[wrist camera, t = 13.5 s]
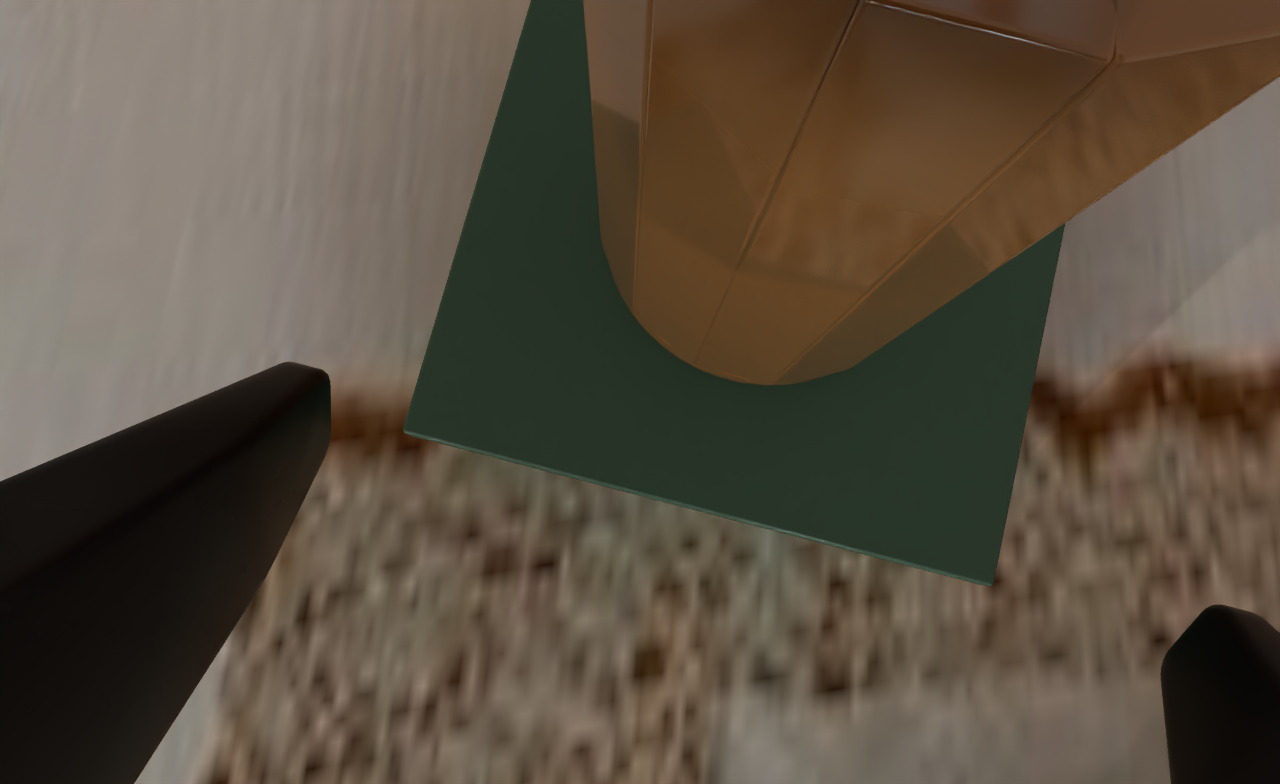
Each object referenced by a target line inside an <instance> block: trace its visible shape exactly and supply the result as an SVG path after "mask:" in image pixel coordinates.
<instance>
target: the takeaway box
mask: <svg viewBox="0 0 1280 784" xmlns="http://www.w3.org/2000/svg"><path fill="white" fill-rule="evenodd" d="M1064 227H1065V223H1064V224H1062V225H1061V226H1060V227H1058V228H1057V229H1055V230H1054V231H1052V232H1051V233H1049V234H1048V235H1046V236H1045V237H1043V238H1042V239H1040V240H1039V241H1037V242H1036V243H1034V244H1033V245H1032V246H1030V247H1029V248H1027V249H1026V250H1024V251H1023V252H1021V253H1020V254H1018V255H1017V256H1015V257H1014V258H1012V259H1011V260H1009V261H1008V262H1007V263H1005V264H1004V265H1002V266H1001V267H999V268H998V269H996V270H995V271H993V272H992V273H990V274H989V275H987V276H986V277H984V278H983V279H981V280H980V281H979V282H977V283H976V284H974V285H973V286H971V287H970V288H968V289H967V290H965V291H964V292H962V293H961V294H959V295H958V296H956V297H955V298H953V299H952V300H951V301H949V302H948V303H946V304H945V305H943V306H942V307H940V308H939V309H937V310H936V311H934V312H933V313H931V314H930V315H928V316H927V317H925V318H924V319H923V320H921V321H920V322H918V323H917V324H915V325H914V326H912V327H911V328H909V329H908V330H906V331H905V332H903V333H902V334H900V335H899V336H897V337H896V338H895V339H893V340H892V341H890V342H889V343H887V344H886V345H884V346H883V347H881V348H880V349H878V350H877V351H875V352H874V353H872V354H871V355H869V356H868V357H867V358H865V359H864V360H862V361H861V362H859V363H858V364H856V365H855V366H853V367H852V368H848V369H847V370H845V371H840V372H835V373H833V374H830V375H828V376H825V377H821V378H818V379H814V380H811V381H807V382H801V383H794V384H787V385H758V384H749V383H741V382H737V381H733V380H729V379H725V378H721V377H718V376H715V375H713V374H710V373H708V372H705V371H702V370H700V369H698V368H696V367H694V366H692V365H690V364H689V363H687V362H685V361H683V360H681V359H680V358H678V357H677V356H675V355H674V354H673V353H671V352H670V351H669V350H667V349H666V348H664V347H663V346H662V345H661V344H660V343H659V342H657V341H656V340H655V339H654V338H653V337H652V336H651V335H650V334H649V333H648V332H647V331H646V330H645V329H644V328H643V326H642V325H641V324H640V323H639V321H638V320H637V319H636V318H635V316H634V315H633V314H632V312H631V311H630V309H629V308H628V306H627V304H626V303H625V301H624V299H623V298H622V296H621V294H620V292H619V290H618V287H617V285H616V283H615V281H614V278H613V276H612V273H611V269H610V266H609V263H608V259H607V256H606V254H605V252H604V250H603V247H602V242H601V234H600V220H599V206H598V193H597V179H596V166H595V152H594V139H593V125H592V111H591V98H590V84H589V71H588V57H587V44H586V30H585V16H584V3H583V0H531V2H530V5H529V9H528V12H527V16H526V19H525V22H524V26H523V29H522V32H521V36H520V39H519V42H518V46H517V49H516V52H515V56H514V59H513V62H512V66H511V69H510V72H509V76H508V79H507V82H506V86H505V89H504V92H503V96H502V99H501V102H500V106H499V109H498V112H497V116H496V119H495V122H494V126H493V129H492V133H491V136H490V139H489V143H488V146H487V149H486V153H485V156H484V159H483V163H482V166H481V169H480V173H479V176H478V179H477V183H476V186H475V189H474V193H473V196H472V199H471V203H470V206H469V209H468V213H467V216H466V219H465V223H464V226H463V229H462V233H461V236H460V239H459V243H458V246H457V249H456V253H455V256H454V260H453V263H452V266H451V270H450V273H449V276H448V280H447V283H446V286H445V290H444V293H443V296H442V300H441V303H440V306H439V310H438V313H437V316H436V320H435V323H434V326H433V330H432V333H431V336H430V340H429V343H428V346H427V350H426V353H425V356H424V360H423V363H422V366H421V370H420V373H419V376H418V380H417V383H416V387H415V390H414V393H413V397H412V400H411V403H410V407H409V410H408V413H407V417H406V420H405V423H404V427H403V432H404V433H406V434H408V435H410V436H414V437H417V438H421V439H425V440H429V441H433V442H437V443H440V444H444V445H448V446H452V447H456V448H459V449H463V450H467V451H471V452H475V453H479V454H482V455H486V456H490V457H494V458H498V459H501V460H505V461H509V462H513V463H517V464H521V465H524V466H528V467H532V468H536V469H540V470H543V471H547V472H551V473H555V474H559V475H563V476H566V477H570V478H574V479H578V480H582V481H585V482H589V483H593V484H597V485H601V486H605V487H608V488H612V489H616V490H620V491H624V492H627V493H631V494H635V495H639V496H643V497H647V498H650V499H654V500H658V501H662V502H666V503H669V504H673V505H677V506H681V507H685V508H689V509H692V510H696V511H700V512H704V513H708V514H711V515H715V516H719V517H723V518H727V519H731V520H734V521H738V522H742V523H746V524H750V525H753V526H757V527H761V528H765V529H769V530H773V531H776V532H780V533H784V534H788V535H792V536H795V537H799V538H803V539H807V540H811V541H815V542H818V543H822V544H826V545H830V546H834V547H837V548H841V549H845V550H849V551H853V552H857V553H860V554H864V555H868V556H872V557H876V558H880V559H883V560H887V561H891V562H895V563H899V564H902V565H906V566H910V567H914V568H918V569H922V570H925V571H929V572H933V573H937V574H941V575H944V576H948V577H952V578H956V579H960V580H964V581H967V582H971V583H975V584H979V585H984V586H992V585H993V583H994V578H995V573H996V568H997V563H998V558H999V553H1000V548H1001V543H1002V538H1003V533H1004V528H1005V523H1006V518H1007V513H1008V508H1009V503H1010V498H1011V493H1012V488H1013V483H1014V478H1015V473H1016V468H1017V463H1018V458H1019V453H1020V448H1021V443H1022V438H1023V433H1024V428H1025V422H1026V417H1027V412H1028V407H1029V402H1030V397H1031V392H1032V387H1033V382H1034V377H1035V372H1036V367H1037V362H1038V357H1039V352H1040V347H1041V342H1042V337H1043V332H1044V327H1045V322H1046V317H1047V312H1048V307H1049V302H1050V297H1051V292H1052V287H1053V282H1054V277H1055V272H1056V267H1057V262H1058V257H1059V252H1060V247H1061V242H1062V237H1063V232H1064Z"/></svg>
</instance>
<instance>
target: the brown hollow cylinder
mask: <svg viewBox="0 0 1280 784" xmlns="http://www.w3.org/2000/svg"><path fill="white" fill-rule="evenodd" d="M583 3H584V16H585V30H586V44H587V57H588V71H589V84H590V98H591V111H592V125H593V139H594V152H595V166H596V179H597V193H598V206H599V220H600V234H601V242H602V247H603V250H604V252H605V254H606V256H607V259H608V263H609V266H610V269H611V273H612V276H613V278H614V281H615V283H616V285H617V287H618V290H619V292H620V294H621V296H622V298H623V299H624V301H625V303H626V304H627V306H628V308H629V309H630V311H631V312H632V314H633V315H634V316H635V318H636V319H637V320H638V321H639V323H640V324H641V325H642V326H643V328H644V329H645V330H646V331H647V332H648V333H649V334H650V335H651V336H652V337H653V338H654V339H655V340H656V341H657V342H659V343H660V344H661V345H662V346H663V347H664V348H666V349H667V350H669V351H670V352H671V353H673V354H674V355H675V356H677V357H678V358H680V359H681V360H683V361H685V362H687V363H689V364H690V365H692V366H694V367H696V368H698V369H700V370H702V371H705V372H708V373H710V374H713V375H715V376H718V377H721V378H725V379H729V380H733V381H737V382H741V383H749V384H758V385H787V384H794V383H801V382H807V381H811V380H814V379H818V378H821V377H825V376H828V375H830V374H833V373H835V372H840V371H845V370H847V369H848V368H852V367H853V366H855V365H856V364H858V363H859V362H861V361H862V360H864V359H865V358H867V357H868V356H869V355H871V354H872V353H874V352H875V351H877V350H878V349H880V348H881V347H883V346H884V345H886V344H887V343H889V342H890V341H892V340H893V339H895V338H896V337H897V336H899V335H900V334H902V333H903V332H905V331H906V330H908V329H909V328H911V327H912V326H914V325H915V324H917V323H918V322H920V321H921V320H923V319H924V318H925V317H927V316H928V315H930V314H931V313H933V312H934V311H936V310H937V309H939V308H940V307H942V306H943V305H945V304H946V303H948V302H949V301H951V300H952V299H953V298H955V297H956V296H958V295H959V294H961V293H962V292H964V291H965V290H967V289H968V288H970V287H971V286H973V285H974V284H976V283H977V282H979V281H980V280H981V279H983V278H984V277H986V276H987V275H989V274H990V273H992V272H993V271H995V270H996V269H998V268H999V267H1001V266H1002V265H1004V264H1005V263H1007V262H1008V261H1009V260H1011V259H1012V258H1014V257H1015V256H1017V255H1018V254H1020V253H1021V252H1023V251H1024V250H1026V249H1027V248H1029V247H1030V246H1032V245H1033V244H1034V243H1036V242H1037V241H1039V240H1040V239H1042V238H1043V237H1045V236H1046V235H1048V234H1049V233H1051V232H1052V231H1054V230H1055V229H1057V228H1058V227H1060V226H1061V225H1062V224H1064V223H1065V222H1067V221H1068V220H1070V219H1071V218H1073V217H1074V216H1076V215H1077V214H1079V213H1080V212H1082V211H1083V210H1085V209H1086V208H1088V207H1089V206H1090V205H1092V204H1093V203H1095V202H1096V201H1098V200H1099V199H1101V198H1102V197H1104V196H1105V195H1107V194H1108V193H1110V192H1111V191H1113V190H1114V189H1116V188H1117V187H1118V186H1120V185H1121V184H1123V183H1124V182H1126V181H1127V180H1129V179H1130V178H1132V177H1133V176H1135V175H1136V174H1138V173H1139V172H1141V171H1142V170H1144V169H1145V168H1146V167H1148V166H1149V165H1151V164H1152V163H1154V162H1155V161H1157V160H1158V159H1160V158H1161V157H1163V156H1164V155H1166V154H1167V153H1169V152H1170V151H1172V150H1173V149H1174V148H1176V147H1177V146H1179V145H1180V144H1182V143H1183V142H1185V141H1186V140H1188V139H1189V138H1191V137H1192V136H1194V135H1195V134H1197V133H1198V132H1200V131H1201V130H1202V129H1204V128H1205V127H1207V126H1208V125H1210V124H1211V123H1213V122H1214V121H1216V120H1217V119H1219V118H1220V117H1222V116H1223V115H1225V114H1226V113H1228V112H1229V111H1230V110H1232V109H1233V108H1235V107H1236V106H1238V105H1239V104H1241V103H1242V102H1244V101H1245V100H1247V99H1248V98H1250V97H1251V96H1253V95H1254V94H1256V93H1257V92H1258V91H1260V90H1261V89H1263V88H1264V87H1266V86H1267V85H1269V84H1270V83H1272V82H1273V81H1275V80H1276V79H1278V78H1279V77H1280V0H583Z"/></svg>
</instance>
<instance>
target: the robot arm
mask: <svg viewBox="0 0 1280 784" xmlns="http://www.w3.org/2000/svg"><path fill="white" fill-rule="evenodd" d="M330 437H331V385H330V379H329V376H328V374H327V373H326V372H325V371H324V370H322V369H318V368H314V367H310V366H307V365H303V364H299V363H295V362H284V363H281V364H278V365H276V366H274V367H271V368H269V369H267V370H264V371H262V372H259V373H257V374H255V375H252V376H250V377H248V378H245V379H243V380H240V381H238V382H236V383H233V384H231V385H229V386H226V387H224V388H221V389H219V390H217V391H214V392H212V393H210V394H207V395H205V396H202V397H200V398H198V399H195V400H193V401H191V402H188V403H186V404H183V405H181V406H179V407H176V408H174V409H171V410H169V411H167V412H164V413H162V414H160V415H157V416H155V417H152V418H150V419H148V420H145V421H143V422H141V423H138V424H136V425H133V426H131V427H129V428H126V429H124V430H122V431H119V432H117V433H114V434H112V435H110V436H107V437H105V438H103V439H100V440H98V441H95V442H93V443H91V444H88V445H86V446H84V447H81V448H79V449H76V450H74V451H72V452H69V453H67V454H65V455H62V456H60V457H57V458H55V459H53V460H50V461H48V462H46V463H43V464H41V465H38V466H36V467H34V468H31V469H29V470H26V471H24V472H22V473H19V474H17V475H15V476H12V477H10V478H7V479H5V480H3V481H0V784H134V783H135V781H136V780H137V778H138V777H139V775H140V773H141V772H142V770H143V769H144V767H145V766H146V764H147V763H148V761H149V759H150V758H151V756H152V755H153V753H154V752H155V750H156V749H157V747H158V745H159V744H160V742H161V741H162V739H163V738H164V736H165V735H166V733H167V731H168V730H169V728H170V727H171V725H172V724H173V722H174V721H175V719H176V717H177V716H178V714H179V713H180V711H181V710H182V708H183V707H184V705H185V703H186V702H187V700H188V699H189V697H190V696H191V694H192V693H193V691H194V689H195V688H196V686H197V685H198V683H199V682H200V680H201V679H202V677H203V675H204V674H205V672H206V671H207V669H208V668H209V666H210V665H211V663H212V662H213V660H214V658H215V657H216V655H217V654H218V652H219V651H220V649H221V648H222V646H223V644H224V643H225V641H226V640H227V638H228V637H229V635H230V634H231V632H232V630H233V629H234V627H235V626H236V624H237V623H238V621H239V620H240V618H241V616H242V615H243V613H244V612H245V610H246V609H247V607H248V606H249V604H250V602H251V601H252V599H253V598H254V596H255V594H256V593H257V591H258V589H259V588H260V586H261V584H262V583H263V581H264V579H265V578H266V576H267V574H268V572H269V570H270V568H271V566H272V564H273V562H274V560H275V558H276V556H277V554H278V552H279V550H280V548H281V546H282V544H283V542H284V540H285V538H286V536H287V534H288V532H289V530H290V527H291V525H292V523H293V521H294V519H295V517H296V515H297V513H298V511H299V509H300V507H301V505H302V503H303V501H304V499H305V497H306V495H307V493H308V491H309V488H310V486H311V484H312V482H313V480H314V478H315V476H316V474H317V472H318V470H319V468H320V466H321V464H322V462H323V460H324V458H325V455H326V453H327V450H328V447H329V443H330ZM1161 687H1162V697H1163V707H1164V717H1165V727H1166V738H1167V748H1168V758H1169V768H1170V778H1171V784H1280V633H1279V632H1278V631H1277V630H1275V629H1274V628H1273V627H1272V626H1271V625H1270V624H1269V623H1268V622H1267V621H1266V620H1265V619H1263V618H1262V617H1261V616H1259V615H1257V614H1255V613H1252V612H1248V611H1244V610H1241V609H1237V608H1233V607H1229V606H1225V605H1212V606H1210V607H1208V608H1206V609H1205V610H1203V611H1202V612H1201V614H1200V615H1199V616H1198V617H1197V618H1196V619H1195V620H1194V622H1193V623H1192V624H1191V625H1190V626H1189V627H1188V628H1187V630H1186V631H1185V632H1184V633H1183V634H1182V635H1181V636H1180V638H1179V639H1178V640H1177V641H1176V642H1175V643H1174V644H1173V646H1172V647H1171V648H1170V649H1169V650H1168V652H1167V653H1166V655H1165V657H1164V659H1163V663H1162V666H1161Z"/></svg>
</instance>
